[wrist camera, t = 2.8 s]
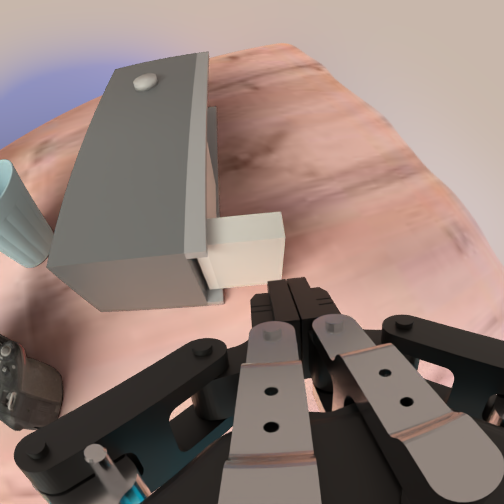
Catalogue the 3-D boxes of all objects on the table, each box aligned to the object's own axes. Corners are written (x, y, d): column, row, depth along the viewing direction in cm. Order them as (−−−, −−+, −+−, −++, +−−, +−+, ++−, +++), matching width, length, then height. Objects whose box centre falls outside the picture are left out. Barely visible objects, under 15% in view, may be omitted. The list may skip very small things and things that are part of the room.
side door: (209, 289, 26) (192, 246, 20) (207, 185, 32) (195, 132, 25) (281, 282, 26) (285, 237, 20) (266, 179, 32) (265, 125, 26)
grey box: (100, 311, 27) (40, 261, 18) (135, 118, 40) (115, 59, 31) (224, 304, 27) (203, 244, 18) (216, 105, 40) (207, 41, 31)
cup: (70, 251, 30) (15, 189, 21) (19, 290, 28) (-43, 241, 19) (54, 207, 33) (10, 147, 24) (9, 242, 31) (-42, 191, 22)
